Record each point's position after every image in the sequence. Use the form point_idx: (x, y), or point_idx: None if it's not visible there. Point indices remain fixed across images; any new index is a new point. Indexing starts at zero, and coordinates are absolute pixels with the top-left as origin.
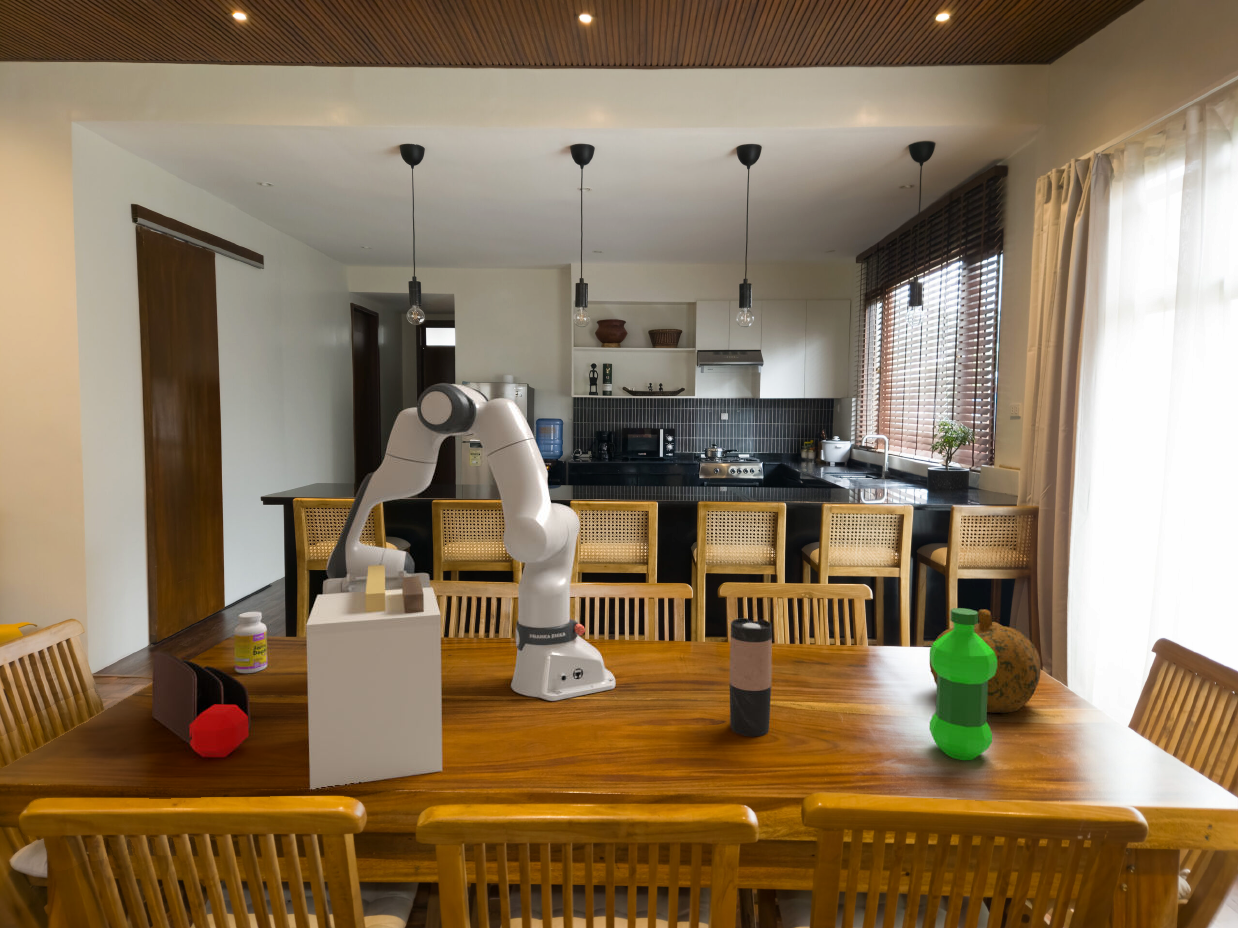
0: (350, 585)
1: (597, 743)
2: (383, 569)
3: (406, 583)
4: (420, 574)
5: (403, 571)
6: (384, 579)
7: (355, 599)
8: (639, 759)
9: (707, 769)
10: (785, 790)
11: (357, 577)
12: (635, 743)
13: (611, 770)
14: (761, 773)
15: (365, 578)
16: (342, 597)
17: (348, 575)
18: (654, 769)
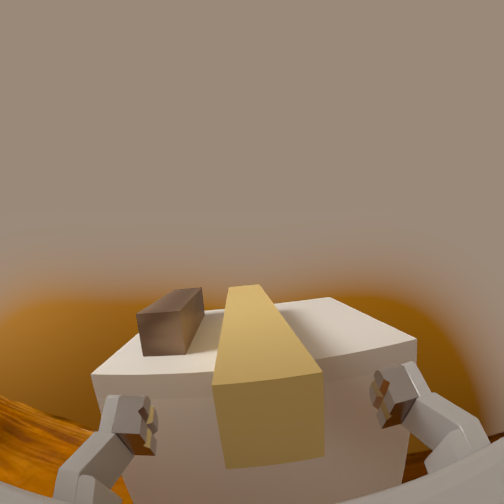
0: (402, 425)
1: (37, 472)
2: (225, 340)
3: (183, 299)
4: (5, 483)
5: (122, 396)
6: (226, 304)
7: (298, 335)
8: (36, 446)
9: (18, 425)
10: (14, 404)
11: (426, 477)
12: (16, 459)
13: (63, 445)
14: (4, 413)
15: (370, 495)
16: (337, 338)
17: (402, 365)
18: (40, 436)
